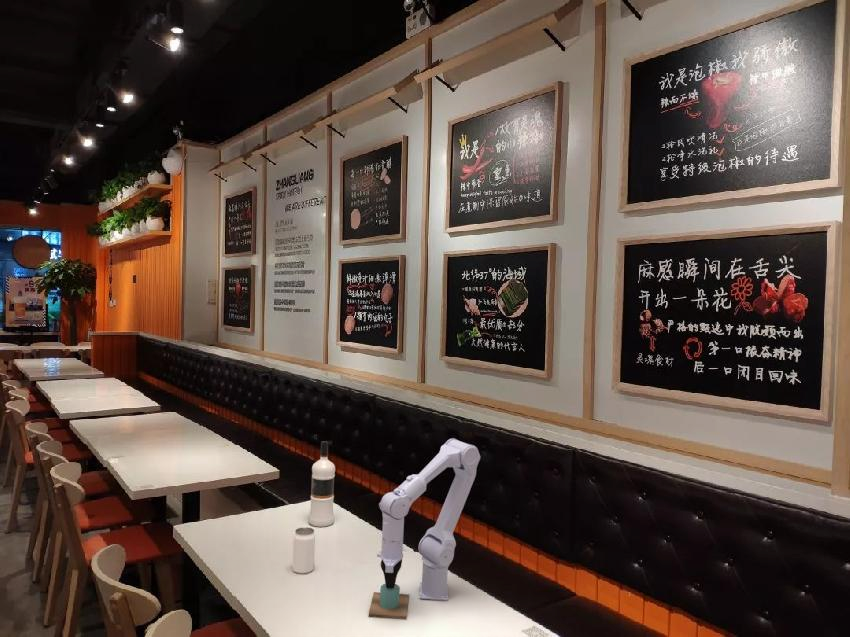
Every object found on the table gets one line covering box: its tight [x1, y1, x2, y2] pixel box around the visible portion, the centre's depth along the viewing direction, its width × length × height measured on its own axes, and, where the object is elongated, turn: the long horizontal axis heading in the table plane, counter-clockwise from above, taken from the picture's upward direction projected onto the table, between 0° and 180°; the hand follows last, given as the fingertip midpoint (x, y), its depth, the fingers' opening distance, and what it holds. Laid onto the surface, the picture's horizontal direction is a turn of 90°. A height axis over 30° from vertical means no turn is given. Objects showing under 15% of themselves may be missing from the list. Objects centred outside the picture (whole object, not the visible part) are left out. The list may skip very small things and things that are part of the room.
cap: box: [379, 583, 401, 609], centre depth 171 cm, size 5×5×4 cm
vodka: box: [307, 440, 336, 528], centre depth 228 cm, size 9×9×30 cm
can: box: [291, 526, 316, 575], centre depth 191 cm, size 6×6×12 cm
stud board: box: [367, 591, 410, 620], centre depth 171 cm, size 12×10×4 cm
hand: (390, 587), depth 171 cm, fingers closed
